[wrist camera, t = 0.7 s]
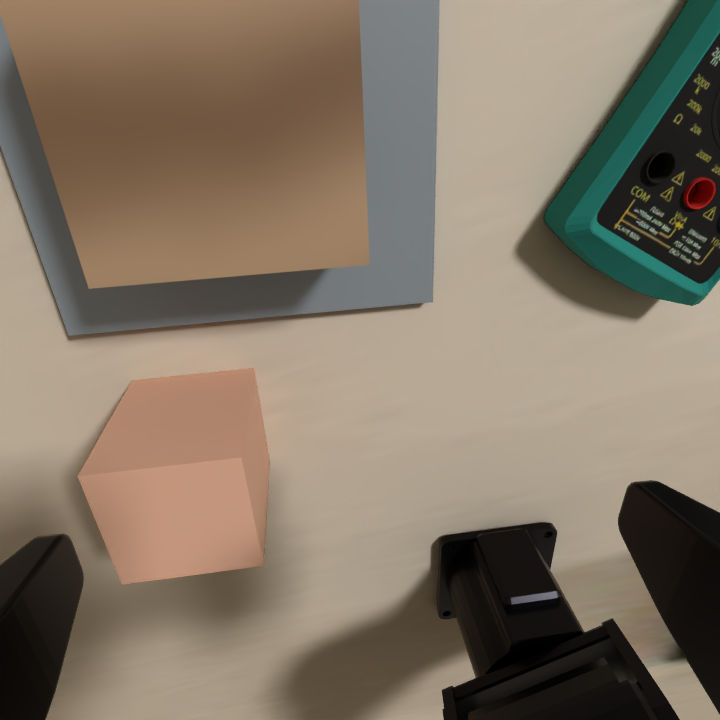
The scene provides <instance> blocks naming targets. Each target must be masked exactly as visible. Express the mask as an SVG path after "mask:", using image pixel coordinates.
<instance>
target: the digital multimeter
mask: <svg viewBox="0 0 720 720" xmlns="http://www.w3.org/2000/svg"><path fill="white" fill-rule="evenodd" d="M719 33H720V0H688V2H687V4H686V5H685V7H684V8H683V10H682V11H681V13H680V15H679V16H678V18H677V19H676V21H675V22H674V24H673V26H672V27H671V29H670V30H669V32H668V34H667V35H666V37H665V38H664V40H663V41H662V43H661V45H660V46H659V48H658V49H657V51H656V52H655V54H654V56H653V57H652V58H651V60H650V61H649V63H648V64H647V66H646V67H645V69H644V70H643V72H642V73H641V75H640V76H639V78H638V79H637V80H636V82H635V83H634V85H633V86H632V88H631V89H630V91H629V92H628V94H627V95H626V97H625V98H624V100H623V101H622V103H621V104H620V105H619V107H618V108H617V110H616V111H615V113H614V114H613V116H612V117H611V119H610V120H609V122H608V123H607V125H606V126H605V127H604V129H603V130H602V132H601V133H600V135H599V136H598V138H597V139H596V141H595V142H594V144H593V145H592V147H591V148H590V149H589V151H588V152H587V154H586V155H585V156H584V158H583V159H582V161H581V162H580V163H579V165H578V166H577V168H576V169H575V170H574V172H573V173H572V175H571V176H570V177H569V179H568V180H567V182H566V183H565V184H564V186H563V187H562V189H561V190H560V192H559V193H558V194H557V196H556V197H555V199H554V200H553V201H552V203H551V204H550V206H549V207H548V208H547V210H546V213H545V216H544V218H545V223H546V224H547V226H548V227H549V228H550V229H551V230H552V231H553V232H554V233H555V234H556V235H557V236H558V237H559V238H560V240H561V241H562V242H563V243H564V244H565V245H566V246H567V247H568V248H569V249H570V250H571V251H573V252H574V253H575V254H576V255H577V256H578V257H580V258H581V259H582V260H583V261H584V262H585V263H586V264H588V265H589V266H591V267H593V268H594V269H596V270H598V271H600V272H601V273H603V274H605V275H607V276H609V277H610V278H612V279H614V280H616V281H617V282H619V283H621V284H623V285H625V286H626V287H628V288H630V289H632V290H634V291H636V292H639V293H643V294H646V295H649V296H652V297H655V298H658V299H662V300H667V301H671V302H676V303H681V304H686V305H691V306H693V305H696V304H699V303H700V302H701V301H702V300H703V299H705V297H706V296H707V295H708V293H709V292H710V291H711V290H712V288H713V287H714V286H715V285H716V283H717V282H718V281H719V280H720V35H719ZM718 35H719V36H718ZM717 36H718V38H717ZM716 38H717V39H716ZM715 39H716V41H715ZM714 41H715V42H714ZM713 42H714V44H713ZM712 44H713V45H712ZM711 45H712V46H711ZM710 47H711V48H710ZM709 48H710V49H709ZM708 49H709V51H708ZM707 51H708V52H707ZM706 52H707V54H706ZM705 54H706V55H705ZM704 55H705V57H704ZM703 57H704V58H703ZM702 58H703V60H702ZM701 60H702V61H701ZM700 61H701V63H700ZM699 63H700V64H699ZM698 64H699V65H698ZM697 66H698V67H697ZM696 67H697V68H696ZM695 68H696V70H695ZM694 70H695V71H694ZM693 71H694V73H693ZM692 73H693V74H692ZM691 74H692V76H691ZM690 76H691V77H690ZM689 77H690V79H689ZM688 79H689V80H688ZM687 80H688V81H687ZM686 82H687V83H686ZM685 83H686V84H685ZM684 85H685V86H684ZM683 86H684V87H683ZM682 88H683V89H682ZM681 89H682V90H681ZM680 90H681V92H680ZM679 92H680V93H679ZM678 93H679V95H678ZM677 95H678V96H677ZM676 96H677V98H676ZM675 98H676V99H675ZM674 99H675V100H674ZM673 101H674V102H673ZM672 102H673V103H672ZM671 104H672V105H671ZM670 105H671V106H670ZM669 107H670V108H669ZM668 108H669V109H668ZM667 110H668V111H667ZM666 111H667V112H666ZM665 112H666V114H665ZM664 114H665V115H664ZM663 115H664V117H663ZM662 117H663V118H662ZM661 118H662V119H661ZM660 120H661V121H660ZM659 121H660V122H659ZM658 123H659V124H658ZM657 124H658V125H657ZM656 126H657V127H656ZM655 127H656V128H655ZM654 129H655V130H654ZM653 130H654V131H653ZM652 132H653V133H652ZM651 133H652V134H651ZM650 134H651V135H650ZM649 136H650V137H649ZM648 137H649V138H648ZM647 139H648V140H647ZM646 140H647V141H646ZM645 142H646V143H645ZM644 143H645V144H644ZM643 145H644V146H643ZM642 146H643V147H642ZM641 148H642V149H641ZM623 174H624V175H623ZM621 177H622V178H621ZM619 180H620V181H619ZM618 181H619V182H618ZM617 183H618V184H617ZM616 184H617V185H616ZM615 186H616V187H615ZM614 187H615V188H614ZM612 190H613V191H612ZM610 193H611V194H610ZM608 196H609V197H608ZM606 199H607V200H606ZM604 202H605V203H604ZM602 205H603V206H602ZM601 206H602V207H601Z"/></svg>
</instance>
